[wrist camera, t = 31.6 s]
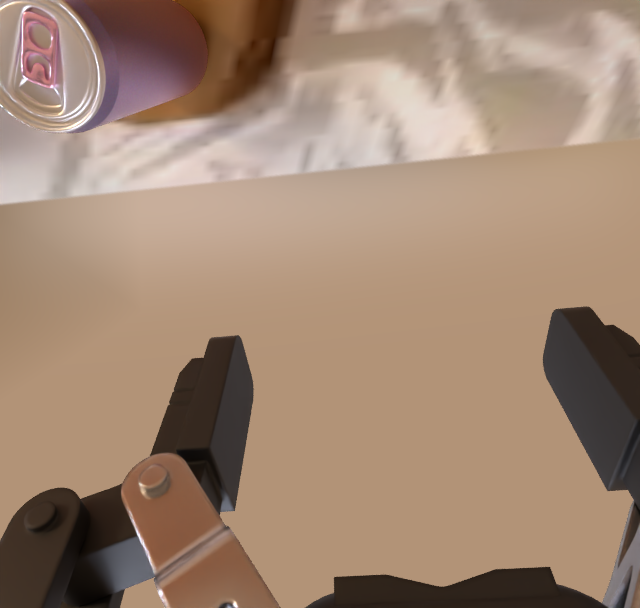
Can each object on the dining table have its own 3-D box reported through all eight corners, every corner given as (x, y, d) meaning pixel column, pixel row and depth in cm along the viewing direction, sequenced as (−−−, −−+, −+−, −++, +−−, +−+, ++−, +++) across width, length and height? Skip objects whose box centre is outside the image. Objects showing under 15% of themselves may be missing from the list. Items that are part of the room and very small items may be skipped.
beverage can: (219, 19, 31) (115, 12, 18) (200, 109, 34) (99, 157, 21) (132, -17, 31) (-40, -50, 18) (120, 77, 34) (-34, 108, 21)
